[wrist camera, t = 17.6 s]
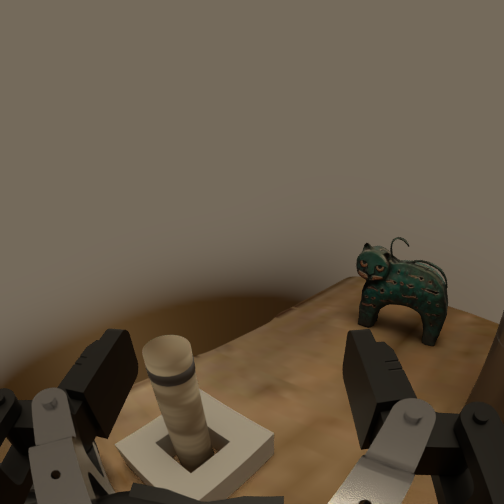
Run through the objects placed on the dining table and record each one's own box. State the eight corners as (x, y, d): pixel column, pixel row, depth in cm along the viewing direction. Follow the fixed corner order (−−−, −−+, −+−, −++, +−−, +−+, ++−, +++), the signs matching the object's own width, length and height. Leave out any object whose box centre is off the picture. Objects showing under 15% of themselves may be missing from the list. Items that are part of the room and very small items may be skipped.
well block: (204, 411, 43) (199, 388, 42) (273, 453, 35) (274, 433, 34) (126, 464, 33) (114, 444, 31) (192, 526, 25) (183, 512, 23)
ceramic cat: (348, 324, 64) (356, 233, 57) (360, 311, 68) (369, 225, 61) (435, 352, 51) (459, 254, 44) (441, 335, 56) (462, 244, 49)
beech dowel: (199, 445, 37) (170, 329, 30) (223, 463, 34) (201, 347, 27) (174, 464, 34) (132, 349, 27) (198, 483, 31) (161, 372, 24)
